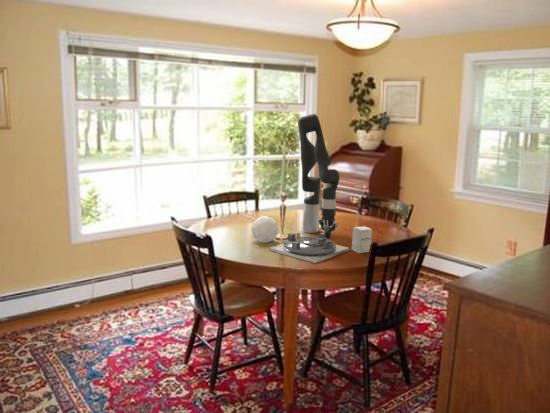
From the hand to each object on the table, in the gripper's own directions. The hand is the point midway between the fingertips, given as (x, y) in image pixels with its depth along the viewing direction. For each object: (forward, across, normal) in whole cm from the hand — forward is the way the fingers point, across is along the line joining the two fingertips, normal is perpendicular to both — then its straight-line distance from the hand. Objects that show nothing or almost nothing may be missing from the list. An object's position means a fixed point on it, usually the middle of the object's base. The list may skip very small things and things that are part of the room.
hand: (327, 238), depth 271 cm
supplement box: (+6, +15, +10) cm, 19 cm away
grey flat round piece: (+3, -1, -12) cm, 13 cm away
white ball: (+4, -28, -21) cm, 35 cm away
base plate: (+5, -1, -12) cm, 13 cm away
